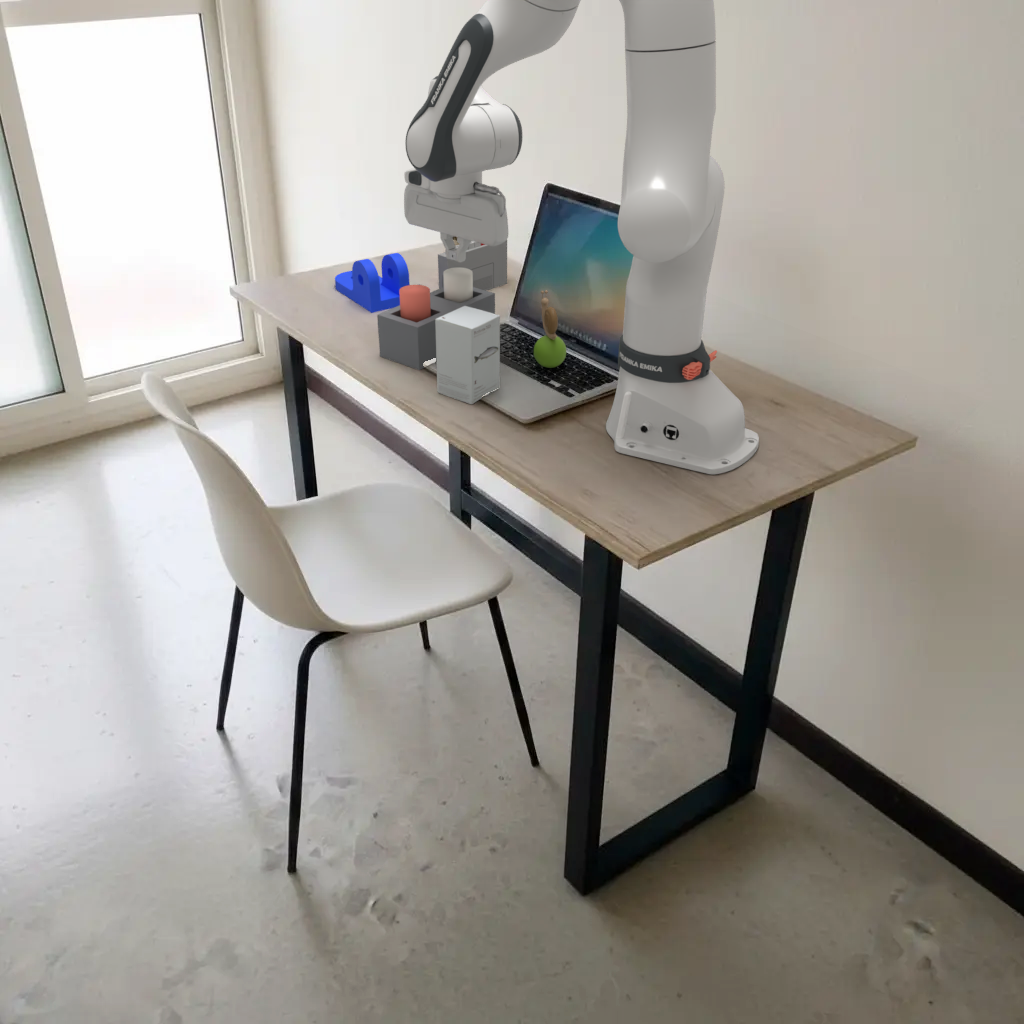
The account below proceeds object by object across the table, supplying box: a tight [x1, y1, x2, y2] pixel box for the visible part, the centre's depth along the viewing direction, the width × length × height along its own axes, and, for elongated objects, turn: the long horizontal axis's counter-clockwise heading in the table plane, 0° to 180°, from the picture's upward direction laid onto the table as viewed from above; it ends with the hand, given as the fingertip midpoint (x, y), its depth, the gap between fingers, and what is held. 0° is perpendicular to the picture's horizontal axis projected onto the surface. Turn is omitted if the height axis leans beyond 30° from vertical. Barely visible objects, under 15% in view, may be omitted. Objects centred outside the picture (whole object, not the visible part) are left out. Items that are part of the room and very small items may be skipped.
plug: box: [443, 268, 473, 303], centre depth 182 cm, size 5×5×6 cm
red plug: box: [399, 284, 431, 322], centre depth 175 cm, size 5×5×6 cm
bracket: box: [334, 252, 411, 314], centre depth 202 cm, size 18×8×9 cm, turn 34°
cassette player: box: [437, 239, 508, 291], centre depth 203 cm, size 16×3×10 cm, turn 135°
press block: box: [376, 287, 496, 371], centre depth 181 cm, size 9×20×8 cm, turn 142°
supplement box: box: [435, 306, 501, 405], centre depth 164 cm, size 7×7×13 cm
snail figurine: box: [533, 289, 567, 369], centre depth 173 cm, size 5×6×12 cm
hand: (456, 259), depth 179 cm, fingers closed
